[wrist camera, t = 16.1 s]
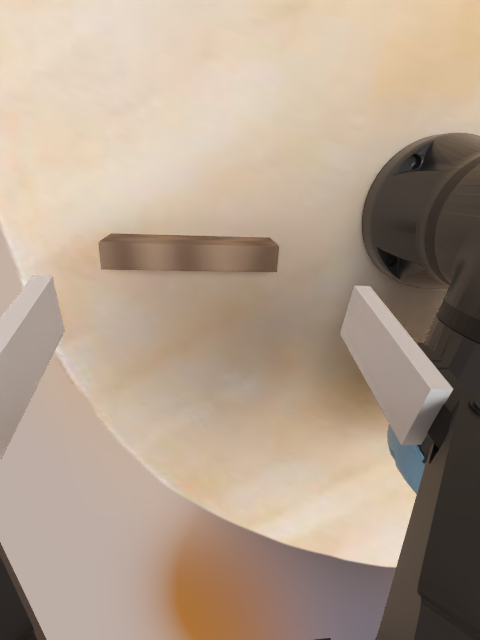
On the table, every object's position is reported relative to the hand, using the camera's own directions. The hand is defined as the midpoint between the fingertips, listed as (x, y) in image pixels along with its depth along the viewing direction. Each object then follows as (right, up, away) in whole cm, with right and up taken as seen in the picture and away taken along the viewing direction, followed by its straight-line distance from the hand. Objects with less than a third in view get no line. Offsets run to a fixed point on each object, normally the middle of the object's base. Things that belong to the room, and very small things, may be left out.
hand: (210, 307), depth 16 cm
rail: (-4, +7, +21) cm, 23 cm away
